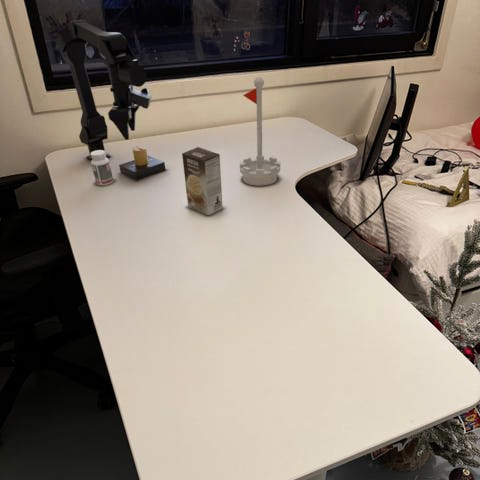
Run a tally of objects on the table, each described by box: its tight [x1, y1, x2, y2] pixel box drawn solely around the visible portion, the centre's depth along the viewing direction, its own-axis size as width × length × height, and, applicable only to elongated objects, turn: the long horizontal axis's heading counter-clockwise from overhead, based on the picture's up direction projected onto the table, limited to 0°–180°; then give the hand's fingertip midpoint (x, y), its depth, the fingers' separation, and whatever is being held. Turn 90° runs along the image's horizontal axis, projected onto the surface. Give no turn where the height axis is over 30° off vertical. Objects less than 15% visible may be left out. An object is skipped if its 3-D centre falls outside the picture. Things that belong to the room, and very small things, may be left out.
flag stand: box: [239, 76, 281, 187], centre depth 141 cm, size 13×13×30 cm
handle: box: [132, 145, 148, 166], centre depth 156 cm, size 4×4×5 cm
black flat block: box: [118, 155, 166, 181], centre depth 159 cm, size 10×12×3 cm
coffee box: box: [181, 146, 224, 216], centre depth 130 cm, size 9×6×16 cm
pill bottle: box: [90, 150, 114, 186], centre depth 151 cm, size 6×6×10 cm
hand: (130, 135), depth 151 cm, fingers open, 9 cm apart
